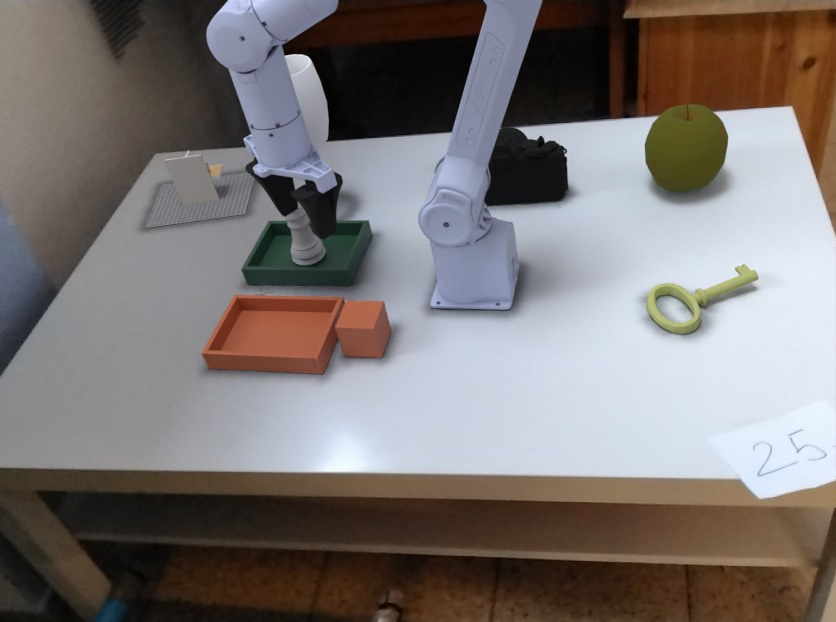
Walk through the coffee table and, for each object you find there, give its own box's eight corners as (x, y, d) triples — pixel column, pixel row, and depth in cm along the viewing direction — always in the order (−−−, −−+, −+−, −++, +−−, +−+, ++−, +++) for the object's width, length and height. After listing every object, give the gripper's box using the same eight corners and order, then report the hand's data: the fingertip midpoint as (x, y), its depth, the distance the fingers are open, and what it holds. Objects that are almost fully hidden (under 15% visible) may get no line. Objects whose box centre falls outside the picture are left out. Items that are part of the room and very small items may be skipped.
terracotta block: (391, 330, 95) (384, 300, 92) (382, 358, 92) (373, 328, 89) (355, 329, 96) (346, 300, 93) (344, 356, 93) (334, 327, 90)
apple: (678, 215, 101) (684, 135, 93) (627, 183, 107) (628, 105, 100) (740, 183, 103) (751, 102, 96) (687, 153, 110) (692, 75, 102)
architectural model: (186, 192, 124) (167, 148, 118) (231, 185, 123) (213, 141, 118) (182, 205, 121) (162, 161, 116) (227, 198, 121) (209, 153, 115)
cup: (363, 208, 113) (326, 63, 98) (318, 232, 111) (272, 86, 96) (338, 188, 118) (298, 46, 103) (294, 210, 116) (247, 68, 101)
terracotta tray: (348, 312, 98) (343, 296, 97) (323, 374, 92) (317, 358, 90) (240, 309, 102) (234, 294, 100) (208, 368, 95) (201, 353, 94)
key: (761, 286, 90) (763, 270, 89) (680, 341, 86) (681, 326, 85) (710, 257, 95) (711, 242, 93) (631, 309, 91) (631, 294, 90)
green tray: (373, 235, 108) (368, 219, 107) (351, 286, 102) (346, 270, 100) (274, 235, 112) (268, 220, 110) (247, 284, 105) (240, 269, 104)
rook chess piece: (300, 272, 104) (281, 220, 99) (288, 255, 107) (269, 204, 102) (331, 258, 105) (315, 206, 100) (319, 242, 108) (302, 190, 103)
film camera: (570, 163, 113) (567, 101, 106) (568, 204, 106) (565, 142, 100) (461, 169, 116) (452, 110, 110) (452, 210, 110) (442, 150, 103)
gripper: (206, 114, 89) (247, 218, 99) (282, 153, 80) (318, 263, 90) (259, 86, 92) (293, 190, 101) (338, 121, 83) (367, 231, 93)
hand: (308, 223), depth 96 cm, fingers open, 7 cm apart
